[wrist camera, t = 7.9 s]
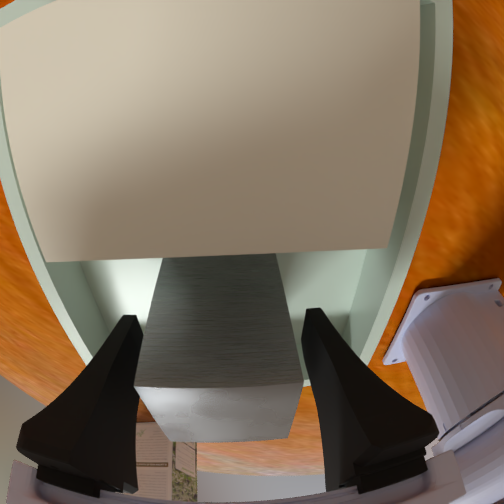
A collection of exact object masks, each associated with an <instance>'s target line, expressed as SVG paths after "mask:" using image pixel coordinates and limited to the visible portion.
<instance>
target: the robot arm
mask: <svg viewBox="0 0 504 504" xmlns="http://www.w3.org/2000/svg"><path fill="white" fill-rule="evenodd" d="M501 284H502V281H501V280H500V278H495V279H489V280H483V281H477V282H470V283H464V284H457V285H450V286H443V287H436V288H428V289H421V290H418V291H417V292H416V293H415V294H414V296H413V298H412V300H411V302H410V305H409V307H408V309H407V312H406V314H405V316H404V318H403V320H402V322H401V324H400V327H399V329H398V331H397V333H396V335H395V337H394V339H393V341H392V343H391V345H390V347H389V349H388V351H387V353H386V355H385V356H384V358H383V363H384V365H390V364H395V363H399V362H404V361H407V364H408V366H409V368H410V370H411V373H412V375H413V377H414V380H415V382H416V384H417V387H418V389H419V391H420V394H421V396H422V399H423V401H424V404H425V406H426V409H427V411H428V412H427V411H425V410H423V409H421V408H420V407H418V406H416V405H414V404H413V403H411V402H410V401H408V400H407V399H405V398H404V397H402V396H401V395H400V394H399V393H397V392H396V391H395V390H393V389H392V388H391V387H390V386H388V385H387V384H386V383H385V382H383V381H382V380H381V379H380V378H379V377H378V376H377V375H376V374H375V373H374V372H373V371H372V370H370V369H369V368H368V366H367V365H366V364H365V363H364V362H363V361H362V360H361V359H360V358H359V357H358V356H357V355H356V353H355V352H354V351H353V350H352V349H351V348H350V346H349V345H348V344H347V343H346V341H345V340H344V339H343V338H342V336H341V335H340V334H339V332H338V331H337V330H336V328H335V327H334V326H333V324H332V323H331V321H330V320H329V319H328V317H327V316H326V314H325V313H324V311H323V310H322V309H321V308H320V307H319V308H307V309H306V313H305V318H304V324H303V330H302V335H301V344H302V351H303V357H304V362H305V366H306V369H307V373H308V376H309V380H310V384H311V387H312V391H313V394H314V398H315V402H316V406H317V410H318V417H319V423H320V430H321V438H322V446H323V456H324V468H325V483H326V492H324V493H320V494H314V495H307V496H301V497H294V498H286V499H277V500H267V501H254V502H229V503H228V502H226V503H212V502H211V503H210V502H209V503H208V502H185V501H171V500H161V499H152V498H144V497H137V496H131V495H125V494H119V493H129V494H134V493H135V492H137V491H138V490H139V489H138V480H137V469H136V420H137V410H138V404H139V398H140V396H139V394H138V393H137V391H136V389H135V388H134V381H135V376H136V370H137V365H138V360H139V355H140V350H141V345H142V341H143V336H144V334H143V332H142V329H141V326H140V324H139V321H138V318H137V315H123V316H122V317H121V318H120V320H119V321H118V323H117V324H116V326H115V327H114V329H113V330H112V332H111V333H110V335H109V336H108V337H107V339H106V340H105V342H104V343H103V345H102V346H101V347H100V349H99V350H98V352H97V353H96V354H95V356H94V357H93V358H92V360H91V361H90V362H89V363H88V365H87V366H86V367H85V369H84V370H83V371H82V372H81V373H80V375H79V376H78V377H77V378H76V379H75V380H74V381H73V382H72V383H71V385H70V386H69V387H68V388H67V389H66V390H65V391H64V392H63V393H61V394H60V395H59V396H58V397H57V398H56V399H55V400H54V401H53V402H51V403H50V404H49V405H48V406H47V407H46V408H44V409H43V410H42V411H40V412H39V413H38V414H36V415H35V416H33V417H32V418H30V419H29V420H27V421H26V422H24V423H23V424H22V427H21V430H20V434H19V438H18V442H17V446H16V448H17V450H18V451H19V452H20V453H22V454H23V455H24V456H26V457H27V458H29V459H31V460H32V461H34V462H36V463H37V464H38V469H36V468H34V467H32V466H29V465H26V464H24V463H22V462H19V461H17V460H14V461H13V465H12V470H11V475H10V481H9V487H8V493H7V500H6V503H7V504H504V298H503V296H502V295H501V294H500V292H499V291H498V290H499V288H500V286H501ZM435 438H438V440H439V441H440V442H439V443H437V444H436V445H435V446H433V447H432V448H431V449H432V452H433V455H434V457H432V458H430V459H428V460H426V461H425V458H424V456H425V455H426V450H425V446H427V445H428V444H429V443H431V442H432V441H433V440H435ZM115 492H119V493H115Z"/></svg>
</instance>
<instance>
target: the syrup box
mask: <svg viewBox="0 0 504 504" xmlns="http://www.w3.org/2000/svg"><path fill="white" fill-rule="evenodd" d="M196 455H197V442H173V441H169V439H168V438H167V436H166V435H165V434H164V432H163V431H162V429H161V428H160V426H159V425H158V424H157V422H143V423H136V469H137V480H138V489H139V490H138V491H137V492H135V493H134V494H129V493H124V494H125V495H131V496H137V497H144V498H152V499H161V500H171V501H185V502H197V456H196Z"/></svg>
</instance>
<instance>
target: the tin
mask: <svg viewBox="0 0 504 504" xmlns="http://www.w3.org/2000/svg"><path fill="white" fill-rule="evenodd" d="M303 384H304V379H303V374H302V370H301V365H300V360H299V355H298V351H297V346H296V342H295V337H294V332H293V328H292V323H291V319H290V314H289V310H288V305H287V301H286V296H285V292H284V287H283V283H282V279H281V274H280V270H279V266H278V261H277V257H276V253H267V254H243V255H219V256H195V257H171V258H163V259H162V263H161V266H160V270H159V274H158V278H157V281H156V285H155V289H154V293H153V297H152V301H151V305H150V310H149V314H148V318H147V323H146V327H145V331H144V336H143V341H142V345H141V350H140V355H139V360H138V365H137V370H136V376H135V381H134V388H135V389H136V391H137V393H138V394H139V396H140V398H141V399H142V401H143V402H144V404H145V405H146V407H147V409H148V410H149V412H150V413H151V415H152V416H153V418H154V419H155V421H156V422H157V424H158V425H159V426H160V428H161V429H162V431H163V432H164V434H165V435H166V436H167V438H168V439H169V441H173V442H245V441H261V440H273V439H283V438H288V435H289V432H290V429H291V426H292V422H293V419H294V416H295V412H296V409H297V406H298V402H299V399H300V395H301V392H302V388H303Z"/></svg>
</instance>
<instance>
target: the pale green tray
mask: <svg viewBox="0 0 504 504" xmlns="http://www.w3.org/2000/svg"><path fill="white" fill-rule="evenodd" d="M53 1H56V0H15V1H13V2H12V3H10V4H8V5H6V6H5V7H3V8H1V9H0V27H2V26H4V25H6V24H8V23H9V22H11V21H13V20H15V19H17V18H19V17H21V16H23V15H25V14H27V13H29V12H31V11H33V10H35V9H37V8H40V7H42V6H44V5H46V4H49V3H51V2H53ZM452 52H453V6H452V0H420V53H419V71H418V84H417V94H416V104H415V112H414V120H413V128H412V134H411V141H410V147H409V153H408V159H407V164H406V170H405V175H404V180H403V185H402V190H401V194H400V199H399V203H398V208H397V212H396V216H395V220H394V224H393V228H392V232H391V236H390V239H389V243H388V247H387V248H382V249H360V250H337V251H314V252H291V253H276V257H277V261H278V266H279V270H280V274H281V279H282V283H283V287H284V292H285V296H286V301H287V305H288V310H289V314H290V319H291V323H292V328H293V332H294V337H295V342H296V346H297V351H298V355H299V360H300V365H301V370H302V374H303V379H304V384H303V387H304V386H311V384H310V380H309V376H308V373H307V369H306V366H305V362H304V357H303V351H302V344H301V335H302V330H303V324H304V318H305V313H306V309H307V308H319V307H320V308H321V309H322V310H323V311H324V313H325V314H326V316H327V317H328V319H329V320H330V321H331V323H332V324H333V326H334V327H335V328H336V330H337V331H338V332H339V334H340V335H341V336H342V338H343V339H344V340H345V341H346V343H347V344H348V345H349V346H350V348H351V349H352V350H353V351H354V352H355V353H356V355H357V356H358V357H359V358H360V359H361V360H362V361H363V362H364V363H365V364H366V365H368V363H369V361H370V359H371V357H372V355H373V353H374V351H375V349H376V347H377V345H378V343H379V340H380V338H381V336H382V334H383V332H384V329H385V327H386V325H387V322H388V320H389V318H390V315H391V313H392V311H393V308H394V306H395V303H396V301H397V298H398V296H399V293H400V291H401V288H402V286H403V283H404V280H405V278H406V275H407V272H408V269H409V266H410V264H411V261H412V258H413V255H414V252H415V249H416V246H417V243H418V239H419V236H420V233H421V230H422V226H423V223H424V219H425V216H426V212H427V209H428V205H429V201H430V197H431V193H432V189H433V185H434V181H435V177H436V172H437V168H438V163H439V158H440V153H441V148H442V142H443V136H444V130H445V124H446V117H447V110H448V102H449V93H450V83H451V70H452ZM0 178H1V182H2V186H3V189H4V193H5V196H6V199H7V202H8V205H9V209H10V212H11V214H12V217H13V220H14V223H15V226H16V229H17V231H18V234H19V237H20V239H21V242H22V244H23V247H24V249H25V252H26V254H27V256H28V259H29V261H30V263H31V266H32V268H33V270H34V272H35V274H36V277H37V279H38V281H39V283H40V285H41V287H42V289H43V291H44V293H45V295H46V297H47V299H48V301H49V303H50V305H51V307H52V309H53V311H54V312H55V314H56V316H57V318H58V320H59V321H60V323H61V325H62V327H63V328H64V330H65V332H66V334H67V335H68V337H69V339H70V340H71V342H72V344H73V345H74V347H75V348H76V350H77V352H78V353H79V355H80V356H81V358H82V359H83V361H84V362H85V364H86V365H88V363H89V362H90V361H91V360H92V358H93V357H94V356H95V354H96V353H97V352H98V350H99V349H100V347H101V346H102V345H103V343H104V342H105V340H106V339H107V337H108V336H109V335H110V333H111V332H112V330H113V329H114V327H115V326H116V324H117V323H118V321H119V320H120V318H121V317H122V316H123V315H137V318H138V321H139V324H140V326H141V329H142V332H143V334H144V331H145V327H146V323H147V318H148V314H149V310H150V305H151V301H152V297H153V293H154V289H155V285H156V281H157V278H158V274H159V270H160V266H161V263H162V259H163V258H146V259H121V260H95V261H70V262H46V261H45V258H44V256H43V253H42V251H41V248H40V246H39V243H38V240H37V238H36V235H35V232H34V229H33V227H32V224H31V221H30V218H29V215H28V212H27V209H26V206H25V202H24V199H23V196H22V192H21V189H20V185H19V181H18V178H17V174H16V170H15V166H14V162H13V157H12V153H11V148H10V143H9V138H8V133H7V127H6V121H5V114H4V107H3V99H2V90H1V78H0Z"/></svg>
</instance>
